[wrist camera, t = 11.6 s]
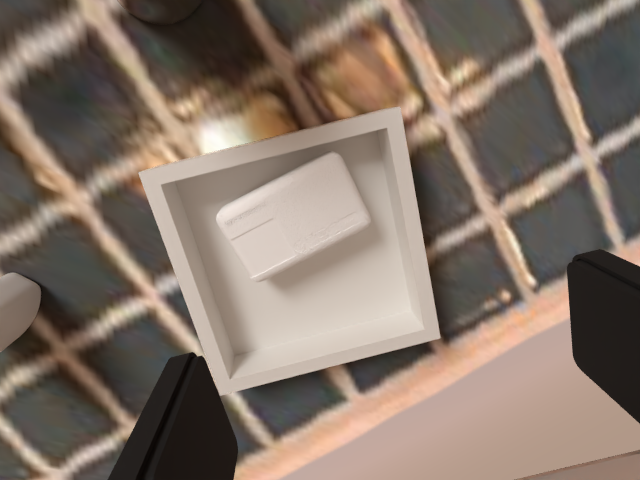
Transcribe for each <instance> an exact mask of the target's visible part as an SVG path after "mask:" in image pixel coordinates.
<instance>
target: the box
mask: <svg viewBox="0 0 640 480" xmlns="http://www.w3.org/2000/svg"><path fill="white" fill-rule="evenodd" d="M328 151H333V152H336V153H338V154H339V155H340V156H341V157H342V158H343V160H344V162H345V164H346V166H347V168H348V171H349V173H350V175H351V177H352V179H353V181H354V183H355V185H356V187H357V189H358V191H359V193H360V196H361V197H362V200H363V202H364V203H365V206H366V208H367V210H368V212H369V214H370V217H371V223H370V225H369V226H368V227H367V228H366V229H364V230H362V231H360V232H358V233H356V234H354V235H352V236H350V237H348V238H346V239H344V240H342V241H341V242H339V243H337V244H335V245H333V246H331V247H329V248H327V249H325V250H323V251H321V252H319V253H317V254H315V255H313V256H312V257H310V258H308V259H306V260H304V261H302V262H300V263H298V264H296V265H294V266H292V267H290V268H288V269H286V270H284V271H282V272H280V273H278V274H276V275H274V276H272V277H270V278H268V279H266V280H265V281H262V282H254V281H253V280H252V279H251V278H250V276H249V274H248V272H247V271H246V269H245V267H244V266H243V264H242V262H241V261H240V259H239V258H238V256H237V254H236V253H235V251H234V249H233V248H232V246H231V244H230V243H229V241H228V240H227V239H226V237H225V236H224V234H223V232H222V231H221V229H220V228H219V226H218V224H217V221H216V216H217V214H218V212H219V211H220V210H221V208H222V207H223V206H225V205H226V204H228V203H230V202H232V201H234V200H236V199H238V198H240V197H241V196H244V195H245V194H247V193H249V192H251V191H253V190H255V189H257V188H259V187H261V186H262V185H264V184H266V183H268V182H270V181H272V180H274V179H276V178H278V177H279V176H282V175H283V174H285V173H287V172H289V171H291V170H293V169H295V168H297V167H299V166H300V165H302V164H304V163H306V162H308V161H310V160H312V159H314V158H316V157H318V156H319V155H321V154H323V153H325V152H328ZM138 173H139V176H140V179H141V181H142V184H143V187H144V190H145V192H146V195H147V198H148V201H149V203H150V206H151V209H152V211H153V214H154V217H155V220H156V222H157V225H158V228H159V230H160V233H161V236H162V239H163V241H164V244H165V247H166V250H167V252H168V255H169V258H170V260H171V263H172V266H173V269H174V271H175V274H176V277H177V280H178V282H179V285H180V288H181V290H182V293H183V296H184V299H185V301H186V304H187V307H188V309H189V312H190V315H191V318H192V320H193V323H194V326H195V329H196V331H197V334H198V337H199V339H200V342H201V345H202V348H203V350H204V353H205V356H206V358H207V361H208V364H209V367H210V369H211V372H212V375H213V378H214V380H215V383H216V386H217V388H218V391H219V394H220V395H224V394H228V393H232V392H236V391H239V390H243V389H247V388H251V387H255V386H259V385H263V384H266V383H270V382H274V381H278V380H282V379H286V378H290V377H293V376H297V375H301V374H305V373H309V372H313V371H317V370H320V369H324V368H328V367H332V366H336V365H340V364H343V363H347V362H351V361H355V360H359V359H363V358H367V357H370V356H374V355H378V354H382V353H386V352H390V351H394V350H397V349H401V348H405V347H409V346H413V345H417V344H421V343H424V342H428V341H432V340H436V339H440V332H439V326H438V320H437V315H436V309H435V303H434V297H433V291H432V286H431V280H430V274H429V268H428V263H427V257H426V251H425V245H424V240H423V234H422V228H421V222H420V217H419V211H418V205H417V199H416V194H415V188H414V182H413V176H412V171H411V165H410V159H409V153H408V148H407V142H406V136H405V130H404V125H403V119H402V113H401V107H393V108H386V109H382V110H378V111H374V112H370V113H366V114H362V115H358V116H354V117H350V118H346V119H342V120H338V121H334V122H330V123H326V124H322V125H318V126H314V127H310V128H306V129H302V130H298V131H294V132H290V133H286V134H282V135H278V136H274V137H270V138H266V139H262V140H258V141H254V142H250V143H247V144H243V145H239V146H235V147H231V148H227V149H223V150H219V151H215V152H211V153H207V154H203V155H199V156H195V157H191V158H187V159H183V160H179V161H175V162H171V163H167V164H163V165H159V166H155V167H152V168H149V169H147V170H144V171H141V172H138Z"/></svg>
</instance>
